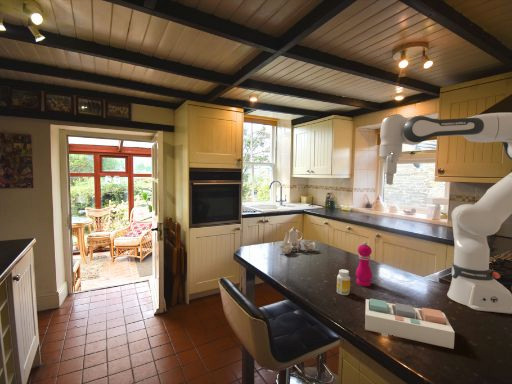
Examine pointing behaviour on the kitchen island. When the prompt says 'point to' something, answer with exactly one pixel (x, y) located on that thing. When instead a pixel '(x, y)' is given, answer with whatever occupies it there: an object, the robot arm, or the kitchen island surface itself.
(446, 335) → the three-slot colour tray
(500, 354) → the kitchen island surface
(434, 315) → the terracotta key
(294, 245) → the chinaware
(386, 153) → the robot arm
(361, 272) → the pepper mill
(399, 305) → the slate key
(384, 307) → the teal key
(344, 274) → the supplement bottle
